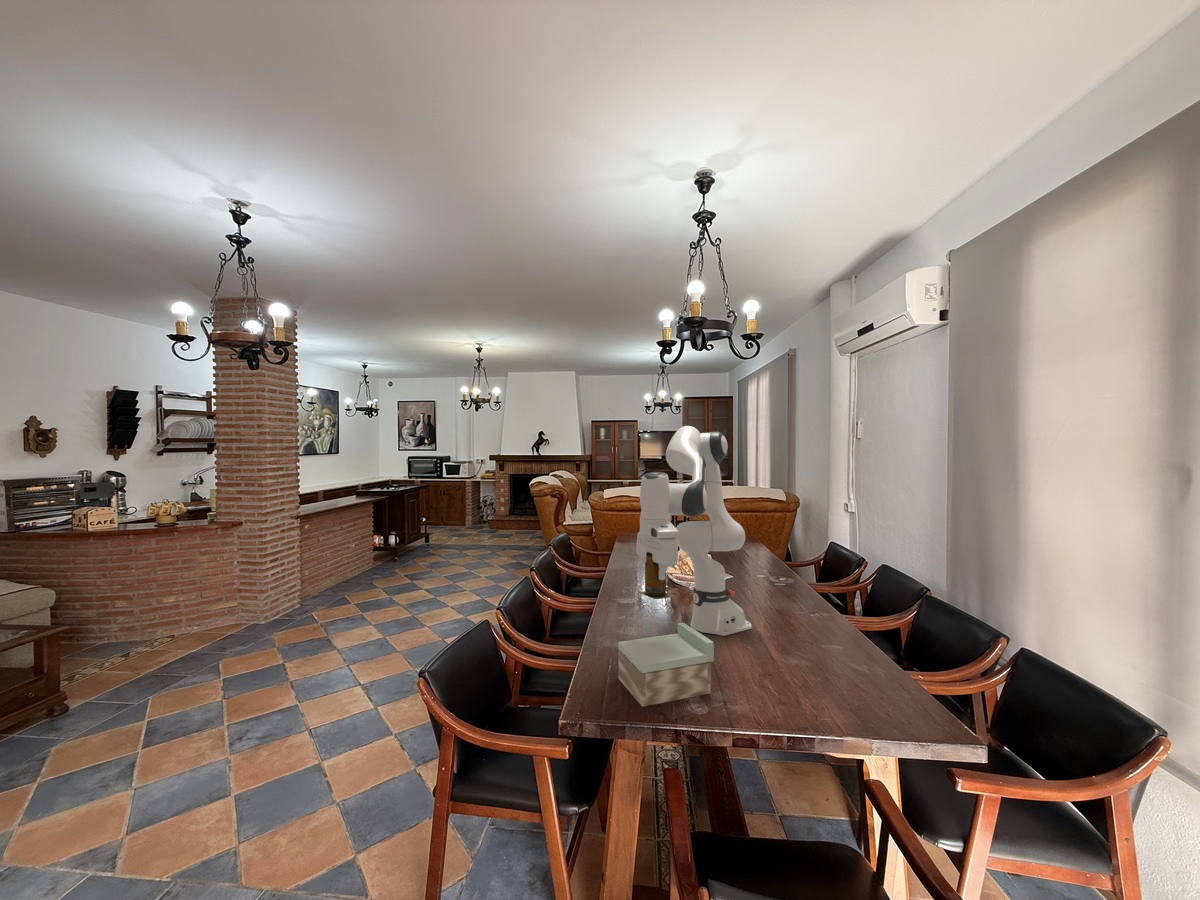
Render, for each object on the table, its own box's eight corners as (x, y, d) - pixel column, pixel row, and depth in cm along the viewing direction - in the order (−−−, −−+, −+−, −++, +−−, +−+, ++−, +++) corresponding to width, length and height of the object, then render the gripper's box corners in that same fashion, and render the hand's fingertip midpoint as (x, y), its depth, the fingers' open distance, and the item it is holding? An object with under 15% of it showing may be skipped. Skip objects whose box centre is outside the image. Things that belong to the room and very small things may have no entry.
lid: (683, 639, 139) (683, 622, 140) (713, 661, 124) (713, 642, 125) (618, 649, 132) (618, 631, 132) (642, 673, 117) (642, 653, 117)
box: (680, 667, 139) (680, 640, 139) (710, 693, 124) (710, 662, 124) (618, 678, 132) (618, 650, 132) (642, 706, 117) (642, 674, 117)
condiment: (658, 589, 139) (658, 549, 139) (676, 596, 132) (675, 553, 132) (638, 593, 136) (637, 551, 136) (654, 600, 128) (654, 556, 129)
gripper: (631, 524, 144) (631, 570, 143) (661, 533, 125) (661, 585, 124) (649, 524, 146) (650, 568, 145) (682, 532, 127) (682, 583, 126)
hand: (655, 576), depth 135 cm, fingers closed on condiment, 6 cm apart
